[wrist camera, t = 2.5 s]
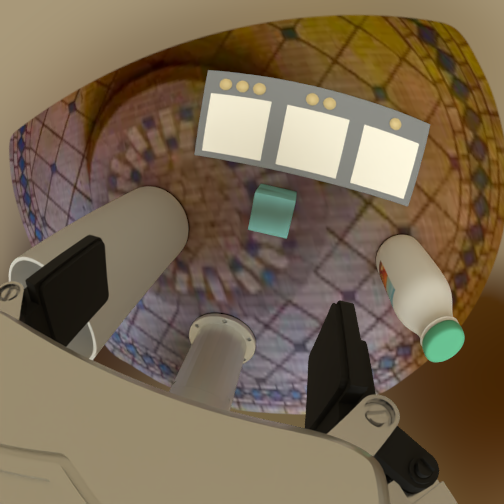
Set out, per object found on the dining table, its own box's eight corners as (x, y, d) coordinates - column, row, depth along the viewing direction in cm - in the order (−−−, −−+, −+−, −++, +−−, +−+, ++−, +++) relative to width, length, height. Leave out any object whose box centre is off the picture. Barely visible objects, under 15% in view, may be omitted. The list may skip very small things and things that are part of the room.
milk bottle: (377, 232, 39) (422, 319, 21) (424, 233, 38) (488, 312, 20) (372, 279, 42) (402, 377, 24) (416, 278, 41) (463, 369, 23)
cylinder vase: (173, 271, 48) (91, 380, 26) (114, 234, 47) (13, 316, 25) (203, 210, 42) (104, 311, 20) (135, 171, 41) (7, 232, 19)
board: (405, 203, 36) (408, 207, 35) (197, 153, 39) (193, 155, 37) (426, 124, 31) (431, 124, 30) (210, 71, 33) (207, 69, 32)
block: (288, 224, 41) (286, 238, 37) (254, 216, 41) (248, 229, 37) (296, 191, 39) (295, 201, 34) (260, 183, 39) (255, 192, 35)
